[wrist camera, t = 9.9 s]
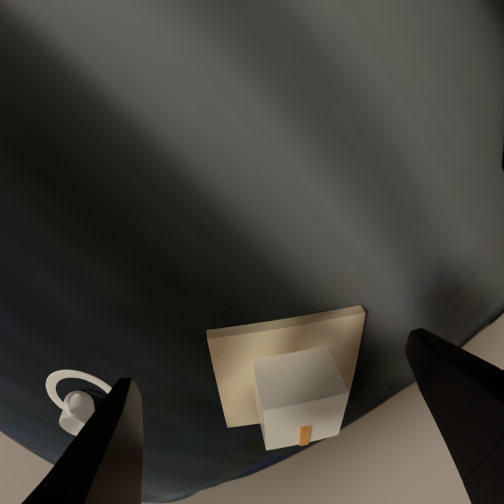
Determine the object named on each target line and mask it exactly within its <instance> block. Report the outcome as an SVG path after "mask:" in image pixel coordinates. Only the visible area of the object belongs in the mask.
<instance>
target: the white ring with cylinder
mask: <svg viewBox="0 0 504 504" xmlns="http://www.w3.org/2000/svg"><path fill="white" fill-rule="evenodd" d="M68 377H74V378H80V379H84V380H87V381H90V382H92V383H94V384H96V385H98V386H99V387H101V388H102V389H103V390H105V391H106V392H107V393H109V391H110V390H111V389H112V387H111V386H109V385H108V384H107V383H105V382H104V381H102V380H100V379H99V378H97V377H94V376H92V375H90V374H87V373H84V372H80V371H75V370H60V371H56V372H54V373H52V374H51V375H49V377H48V378H47V380H46V389H47V392H48V394H49V396H50V398H51V399H52V400H53V401H54V402H55V403H56V404H57V405H58V406H59V407H60V408H61V409H63V411H62V414H61V417H60V420H59V423H60V425H61V427H62V428H63V429H64V430H66V431H67V432H69V433H71V434H73V435H76V436H77V434H78V433H79V431H80V430H81V429H82V427H83V426H84V425H85V423H86V422H87V421H88V419H89V418H90V417H91V415H92V414H93V413H94V411H95V410H94V401H93V398H92V397H91V396H90V395H89V394H87V393H86V392H83V391H74V392H71V393H69V394H68V395H67V396H66V398H65V400H64V403H63V402H62V401H61V400H60V398H59V397H58V395H57V393H56V390H55V386H56V383H57V382H58V381H59V380H61V379H63V378H68Z"/></svg>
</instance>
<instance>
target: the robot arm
mask: <svg viewBox="0 0 504 504" xmlns="http://www.w3.org/2000/svg"><path fill="white" fill-rule="evenodd" d="M502 167H503V169H504V152H503V163H502ZM405 354H406V357H407V359H408V362H409V364H410V367H411V369H412V372H413V374H414V377H415V380H416V382H417V384H418V387H419V390H420V392H421V394H422V396H423V398H424V400H425V401H426V403H427V406H428V407H429V409H430V411H431V414H432V415H433V418H434V420H435V422H436V424H437V426H438V428H439V430H440V432H441V434H442V436H443V439H444V441H445V443H446V445H447V447H448V449H449V451H450V454H451V456H452V458H453V460H454V463H455V465H456V467H457V469H458V471H459V474H460V476H461V479H462V480H463V484H464V486H465V489H466V491H467V493H468V496H469V499H470V501H471V504H504V370H500V368H498V367H496V366H494V365H492V364H490V363H489V362H487V361H485V360H483V359H481V358H479V357H477V356H475V355H473V354H471V353H469V352H467V351H465V350H463V349H461V348H460V347H458V346H456V345H454V344H452V343H450V342H448V341H446V340H444V339H442V338H440V337H438V336H436V335H434V334H432V333H430V332H428V331H426V330H425V329H422V328H418V329H415V330H412V331H411V332H410V333H409V336H408V340H407V343H406V346H405ZM143 444H144V440H143V418H142V398H141V394H140V392H139V390H138V388H137V386H136V383H135V381H134V380H133V379H132V378H120V379H119V380H118V381H117V382H116V384H115V385H114V386H113V388H112V389H111V390H110V391H109V393H108V394H107V395H106V397H105V398H104V399H103V401H102V402H101V403H100V405H99V406H98V407H97V409H96V410H95V411H94V413H93V414H92V415H91V417H90V418H89V419H88V421H87V422H86V423H85V425H84V426H83V427H82V429H81V430H80V431H79V433H78V434H77V436H76V437H75V438H74V440H73V441H72V442H71V444H70V445H69V446H68V448H67V449H66V450H65V452H64V453H63V456H61V457H60V459H59V460H58V461H57V463H56V464H55V465H54V467H53V468H52V469H51V471H50V472H49V473H48V474H47V476H46V477H45V478H44V479H43V480H42V481H41V483H40V484H39V485H38V486H37V487H36V488H35V489H34V491H33V492H32V493H31V494H30V495H29V496H28V497H27V498H26V499H25V500H24V501H23V502H22V504H141V486H142V463H143Z"/></svg>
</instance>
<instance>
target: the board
mask: <svg viewBox="0 0 504 504" xmlns="http://www.w3.org/2000/svg"><path fill="white" fill-rule="evenodd" d="M365 313H366V312H365V311H364V309H363V308H362V307H361V305H358V306H353V307H348V308H343V309H338V310H332V311H327V312H322V313H316V314H311V315H305V316H299V317H293V318H287V319H281V320H275V321H268V322H262V323H255V324H248V325H242V326H234V327H227V328H220V329H212V330H207V340H208V345H209V350H210V354H211V359H212V363H213V368H214V372H215V377H216V381H217V385H218V390H219V394H220V398H221V402H222V407H223V411H224V415H225V419H226V423H227V427H236V426H243V425H250V424H257V423H260V419H259V414H258V409H257V405H256V395H255V386H254V376H253V366H252V359H257V358H263V357H269V356H275V355H281V354H287V353H292V352H298V351H303V350H308V349H314V348H319V347H323V346H327V347H328V349H329V351H330V353H331V355H332V357H333V359H334V362H335V364H336V366H337V368H338V370H339V372H340V374H341V376H342V378H343V380H344V383H345V385H346V387H347V389H348V391H349V394H350V389H351V385H352V381H353V376H354V371H355V367H356V362H357V357H358V352H359V347H360V341H361V336H362V330H363V325H364V319H365ZM348 398H349V395H348ZM347 402H348V399H347ZM346 405H347V403H346Z"/></svg>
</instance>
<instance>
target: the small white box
mask: <svg viewBox="0 0 504 504" xmlns="http://www.w3.org/2000/svg"><path fill="white" fill-rule="evenodd" d="M252 366H253V376H254V386H255V395H256V405H257V409H258V414H259V419H260V424H261V428H262V433H263V438H264V442H265V447H266V450H271V449H277V448H282V447H287V446H292V445H297V444H299V445H300V446H302V445H307V444H308V443H309V442H311V441H315V440H319V439H323V438H327V437H331V436H335V435H338V433H339V430H340V426H341V423H342V419H343V415H344V411H345V407H346V403H347V399H348V395H349V391H348V389H347V387H346V385H345V383H344V380H343V378H342V376H341V374H340V372H339V370H338V368H337V366H336V364H335V362H334V359H333V357H332V355H331V353H330V351H329V349H328V347H327V346H323V347H319V348H314V349H308V350H303V351H298V352H292V353H287V354H281V355H275V356H269V357H263V358H257V359H252Z"/></svg>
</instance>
